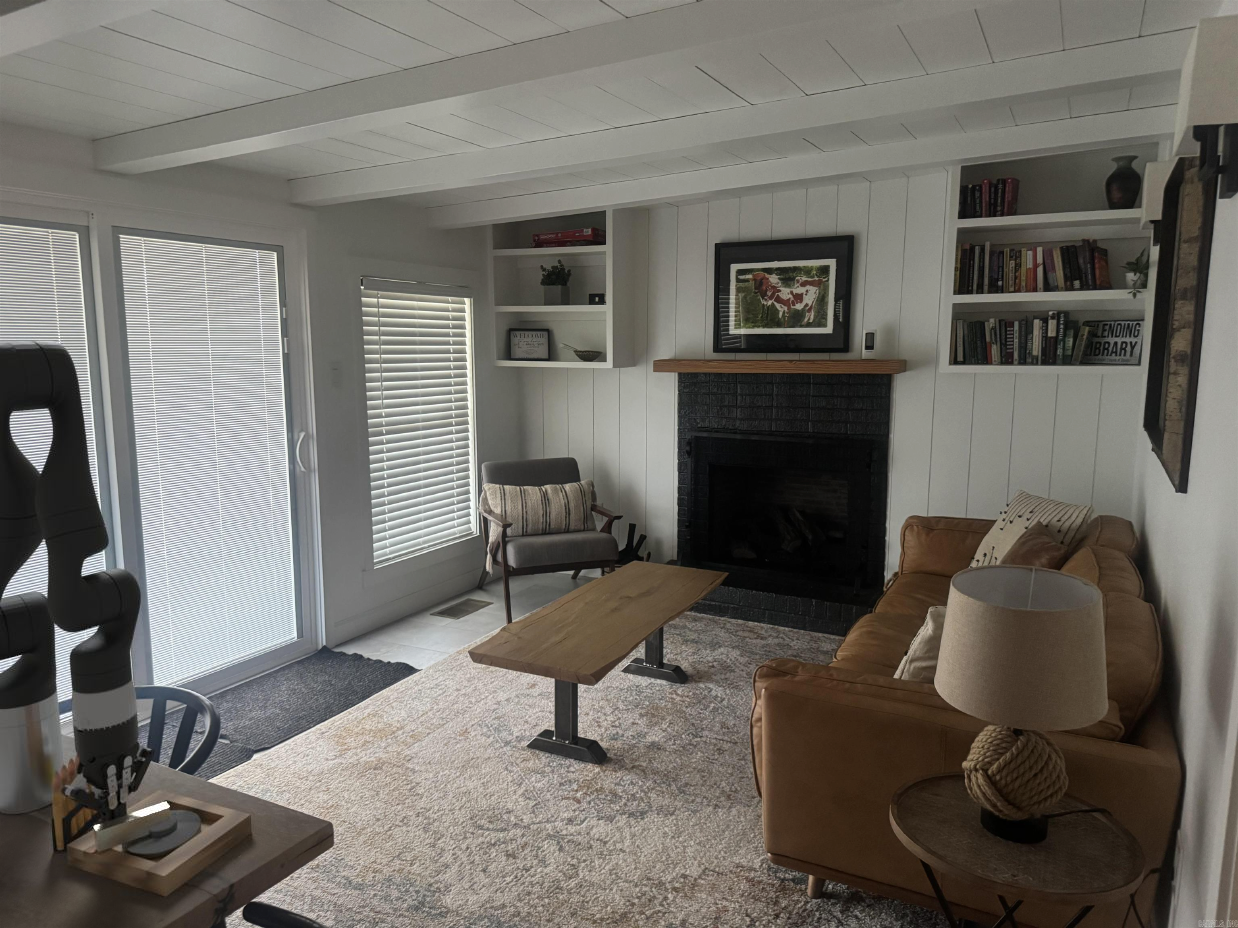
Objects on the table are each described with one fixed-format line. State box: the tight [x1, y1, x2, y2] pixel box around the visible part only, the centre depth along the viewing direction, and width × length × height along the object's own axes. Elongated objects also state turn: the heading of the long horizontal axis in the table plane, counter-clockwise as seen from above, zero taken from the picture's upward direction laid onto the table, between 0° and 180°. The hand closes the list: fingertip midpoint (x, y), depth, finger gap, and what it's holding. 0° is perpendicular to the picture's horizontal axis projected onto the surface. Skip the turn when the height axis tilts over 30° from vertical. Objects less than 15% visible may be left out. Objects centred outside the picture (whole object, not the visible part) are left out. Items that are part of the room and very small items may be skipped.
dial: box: [93, 802, 201, 860], centre depth 116 cm, size 13×10×5 cm
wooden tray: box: [66, 789, 253, 898], centre depth 117 cm, size 18×15×3 cm
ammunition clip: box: [50, 754, 101, 853], centre depth 121 cm, size 11×2×12 cm, turn 3°
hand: (115, 827), depth 115 cm, fingers closed
